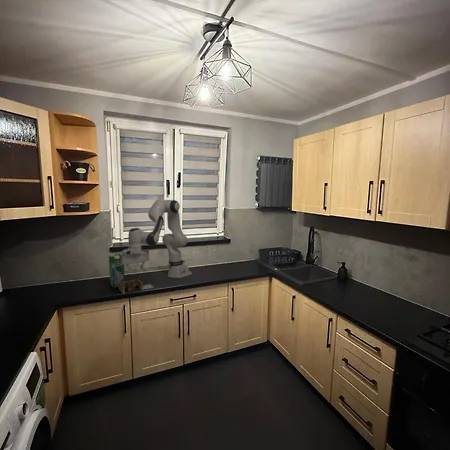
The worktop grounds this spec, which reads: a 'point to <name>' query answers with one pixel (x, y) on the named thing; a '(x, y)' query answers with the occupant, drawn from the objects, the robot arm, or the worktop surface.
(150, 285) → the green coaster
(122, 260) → the robot arm
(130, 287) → the walnut block
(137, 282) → the croissant
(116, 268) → the milk carton
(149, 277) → the worktop surface
